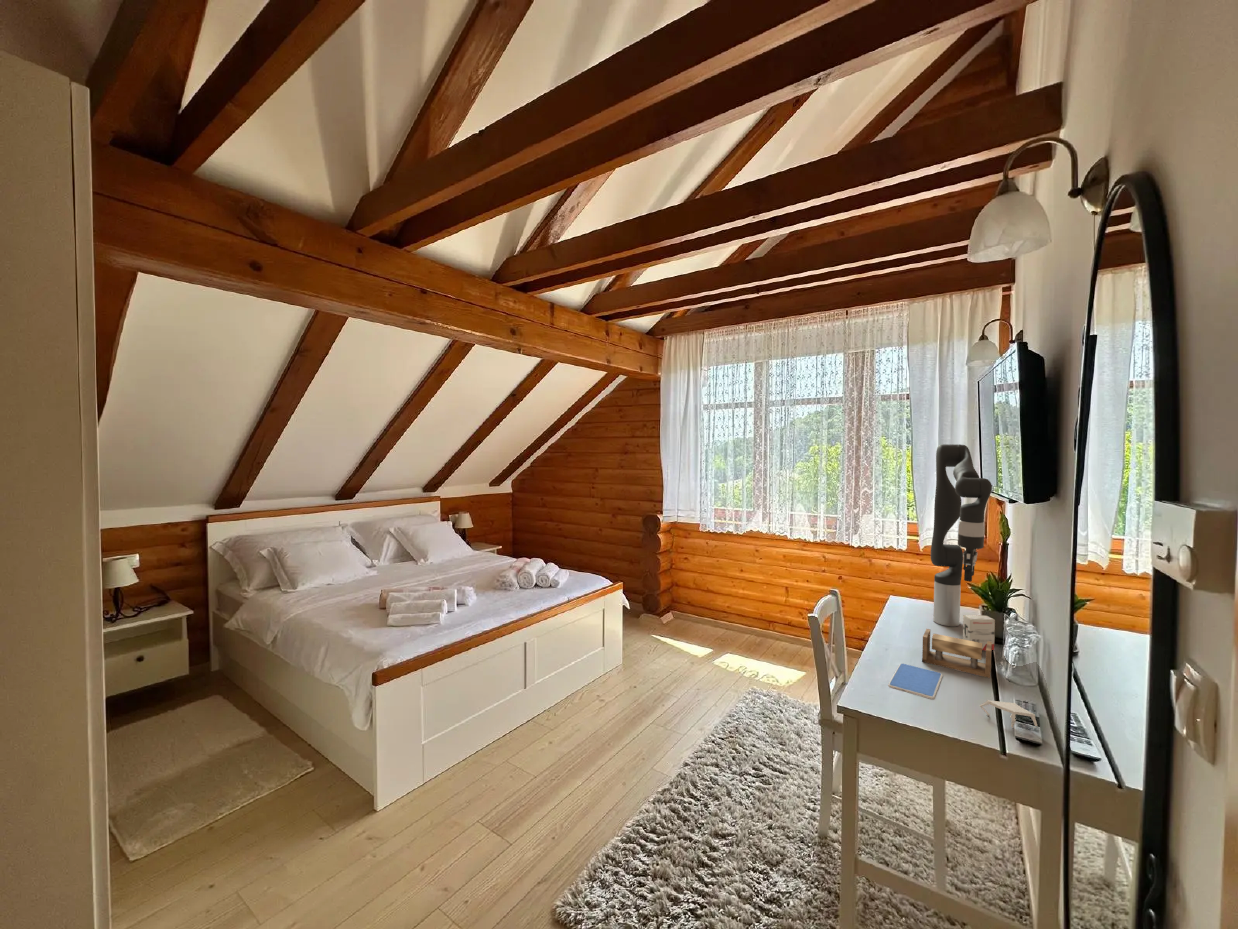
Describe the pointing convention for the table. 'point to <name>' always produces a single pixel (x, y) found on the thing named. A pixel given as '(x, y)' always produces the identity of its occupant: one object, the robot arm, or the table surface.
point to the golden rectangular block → (957, 646)
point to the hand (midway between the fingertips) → (969, 578)
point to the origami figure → (1010, 710)
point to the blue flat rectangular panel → (916, 680)
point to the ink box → (979, 629)
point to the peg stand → (956, 659)
